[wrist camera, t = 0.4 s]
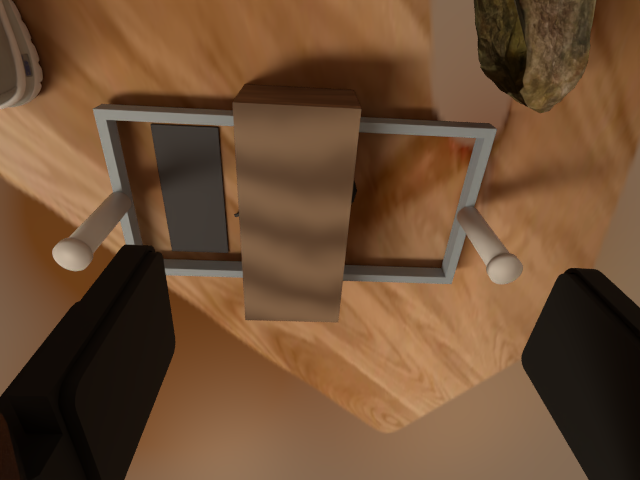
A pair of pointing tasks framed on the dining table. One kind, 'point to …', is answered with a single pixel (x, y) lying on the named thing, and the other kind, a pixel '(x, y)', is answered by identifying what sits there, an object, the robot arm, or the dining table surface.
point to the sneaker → (17, 59)
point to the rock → (534, 47)
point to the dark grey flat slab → (192, 186)
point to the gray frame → (121, 208)
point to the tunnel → (294, 198)
